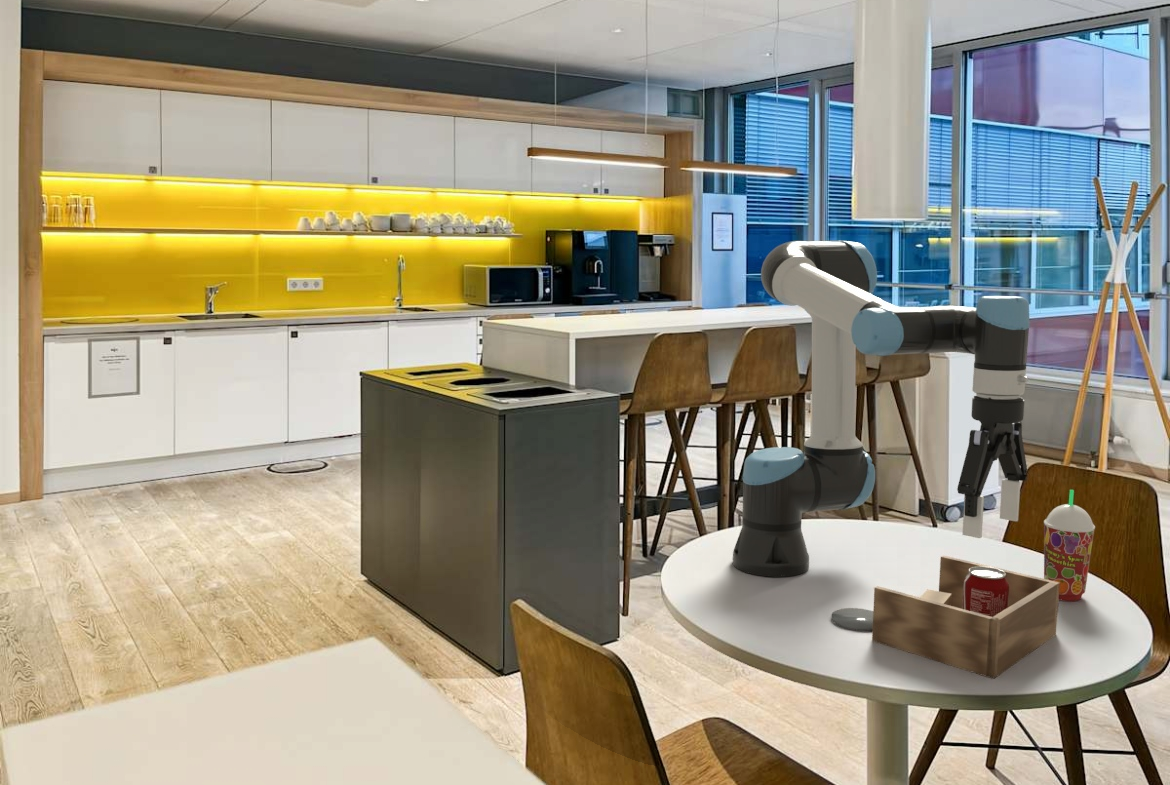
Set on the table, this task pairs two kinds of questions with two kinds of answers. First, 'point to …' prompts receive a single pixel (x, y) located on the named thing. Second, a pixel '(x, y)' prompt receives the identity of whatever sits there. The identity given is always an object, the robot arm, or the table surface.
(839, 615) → the coaster
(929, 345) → the robot arm
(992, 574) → the soda can
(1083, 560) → the smoothie
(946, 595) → the offcut top
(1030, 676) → the table surface
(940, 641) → the open wooden box
